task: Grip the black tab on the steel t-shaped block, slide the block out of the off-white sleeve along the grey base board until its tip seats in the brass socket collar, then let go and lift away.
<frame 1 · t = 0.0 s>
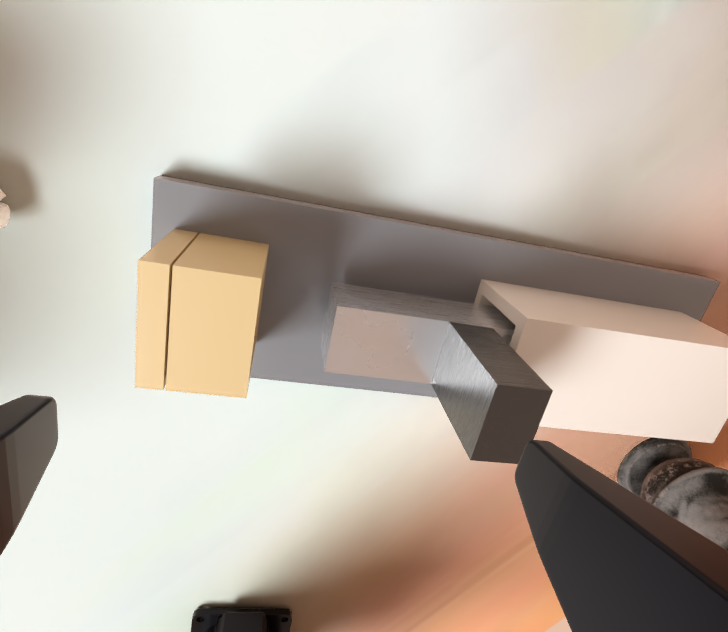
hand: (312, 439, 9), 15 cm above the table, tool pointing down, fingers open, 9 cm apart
dark grey statuette: (651, 464, 32), on the table
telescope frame: (426, 311, 24), on the table
steel t-shaped block: (529, 374, 20), point 6 cm above the table, slide at 0.0 cm
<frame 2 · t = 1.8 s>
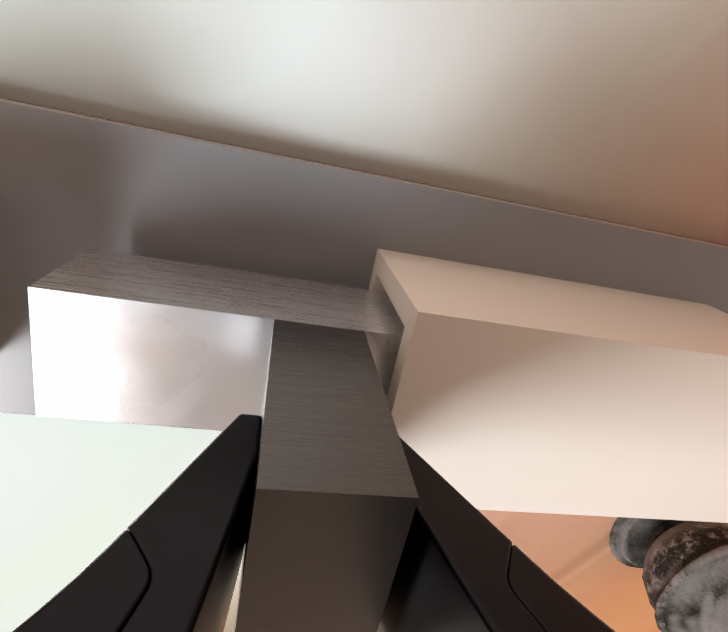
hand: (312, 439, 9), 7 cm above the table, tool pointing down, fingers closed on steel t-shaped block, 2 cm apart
dark grey statuette: (658, 522, 22), on the table
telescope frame: (298, 304, 15), on the table
steel t-shaped block: (433, 420, 10), point 6 cm above the table, slide at 0.0 cm, touching gripper
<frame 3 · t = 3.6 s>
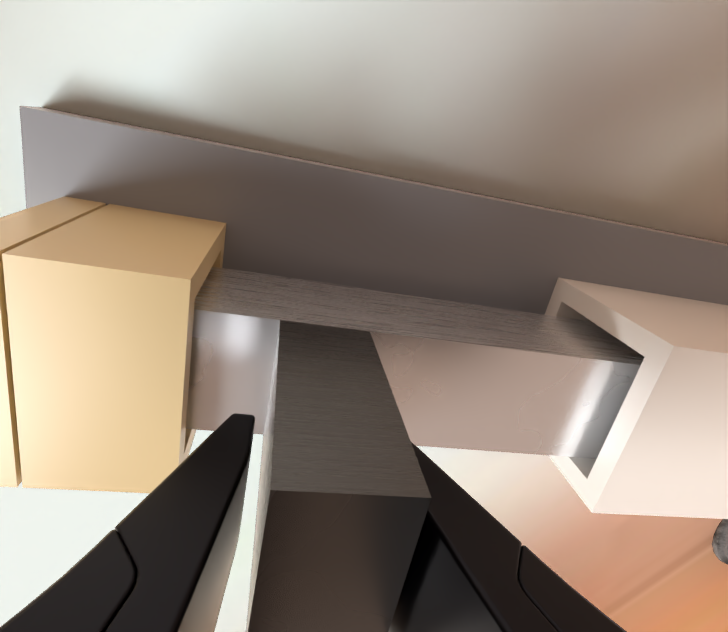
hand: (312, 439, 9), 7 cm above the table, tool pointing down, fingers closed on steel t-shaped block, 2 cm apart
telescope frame: (469, 326, 16), on the table
steel t-shaped block: (438, 419, 10), point 6 cm above the table, slide at 6.0 cm, touching gripper
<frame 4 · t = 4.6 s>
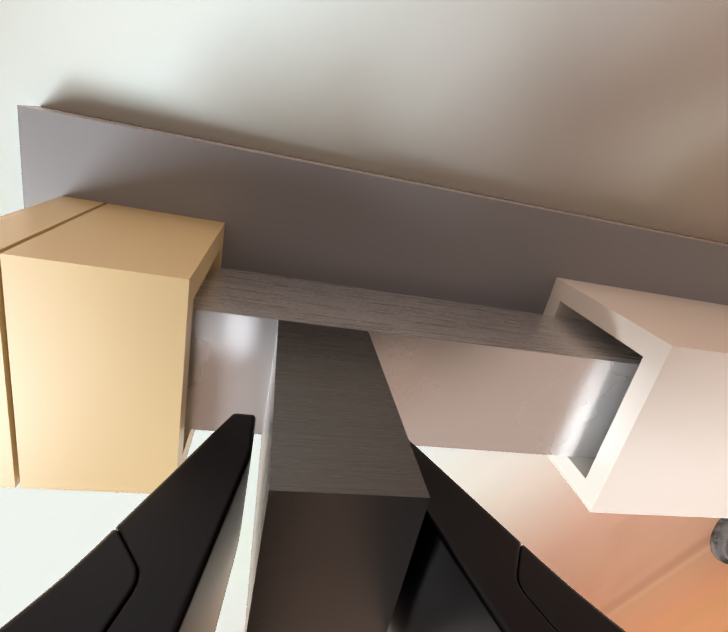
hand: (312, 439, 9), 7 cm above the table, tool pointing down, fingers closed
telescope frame: (468, 326, 16), on the table
steel t-shaped block: (437, 419, 10), point 6 cm above the table, slide at 6.1 cm, touching gripper
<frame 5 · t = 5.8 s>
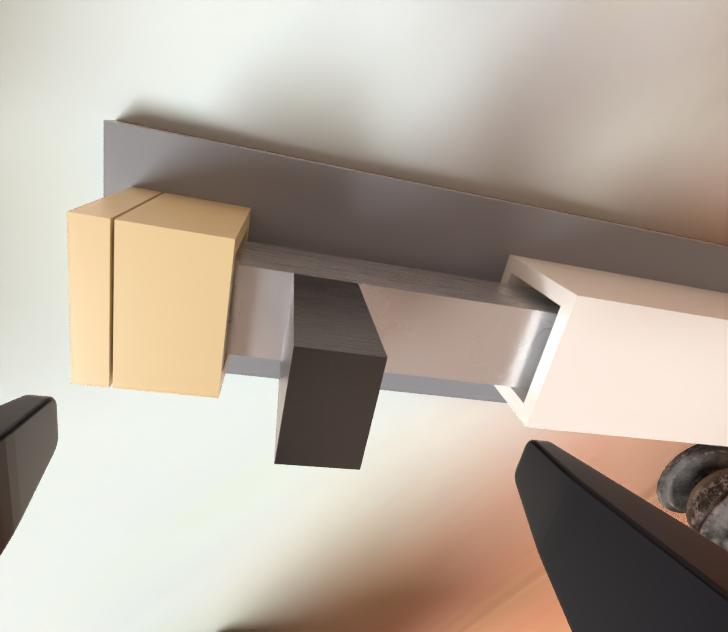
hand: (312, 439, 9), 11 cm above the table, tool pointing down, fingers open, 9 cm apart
dark grey statuette: (695, 475, 28), on the table
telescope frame: (441, 295, 20), on the table
steel t-shaped block: (407, 346, 14), point 6 cm above the table, slide at 6.0 cm
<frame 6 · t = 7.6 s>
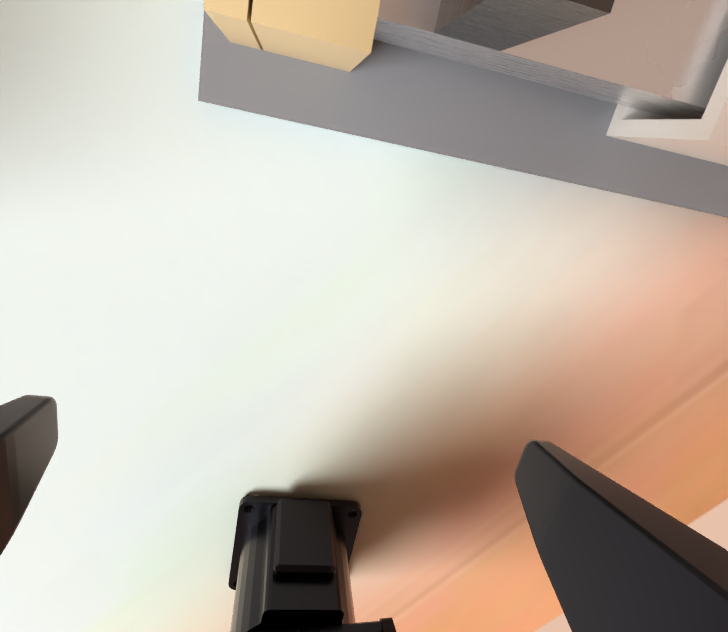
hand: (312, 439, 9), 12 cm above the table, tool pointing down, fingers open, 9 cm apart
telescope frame: (570, 56, 18), on the table
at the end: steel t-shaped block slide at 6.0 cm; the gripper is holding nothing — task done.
